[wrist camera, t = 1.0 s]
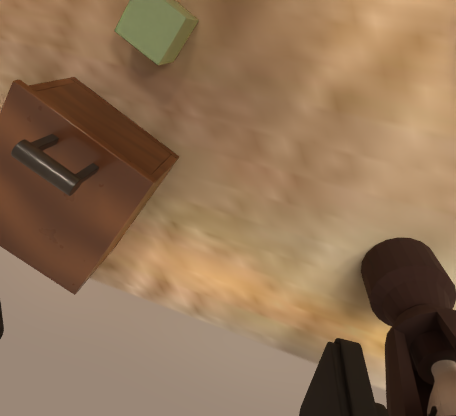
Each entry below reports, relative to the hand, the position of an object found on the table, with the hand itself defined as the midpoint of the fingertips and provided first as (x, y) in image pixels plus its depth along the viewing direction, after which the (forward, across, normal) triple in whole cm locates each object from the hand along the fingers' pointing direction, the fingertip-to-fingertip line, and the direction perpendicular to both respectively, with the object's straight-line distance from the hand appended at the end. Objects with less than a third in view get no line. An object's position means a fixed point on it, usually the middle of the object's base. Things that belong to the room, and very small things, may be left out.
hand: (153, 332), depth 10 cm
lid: (+21, +16, +9) cm, 28 cm away
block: (+30, +10, -7) cm, 32 cm away
